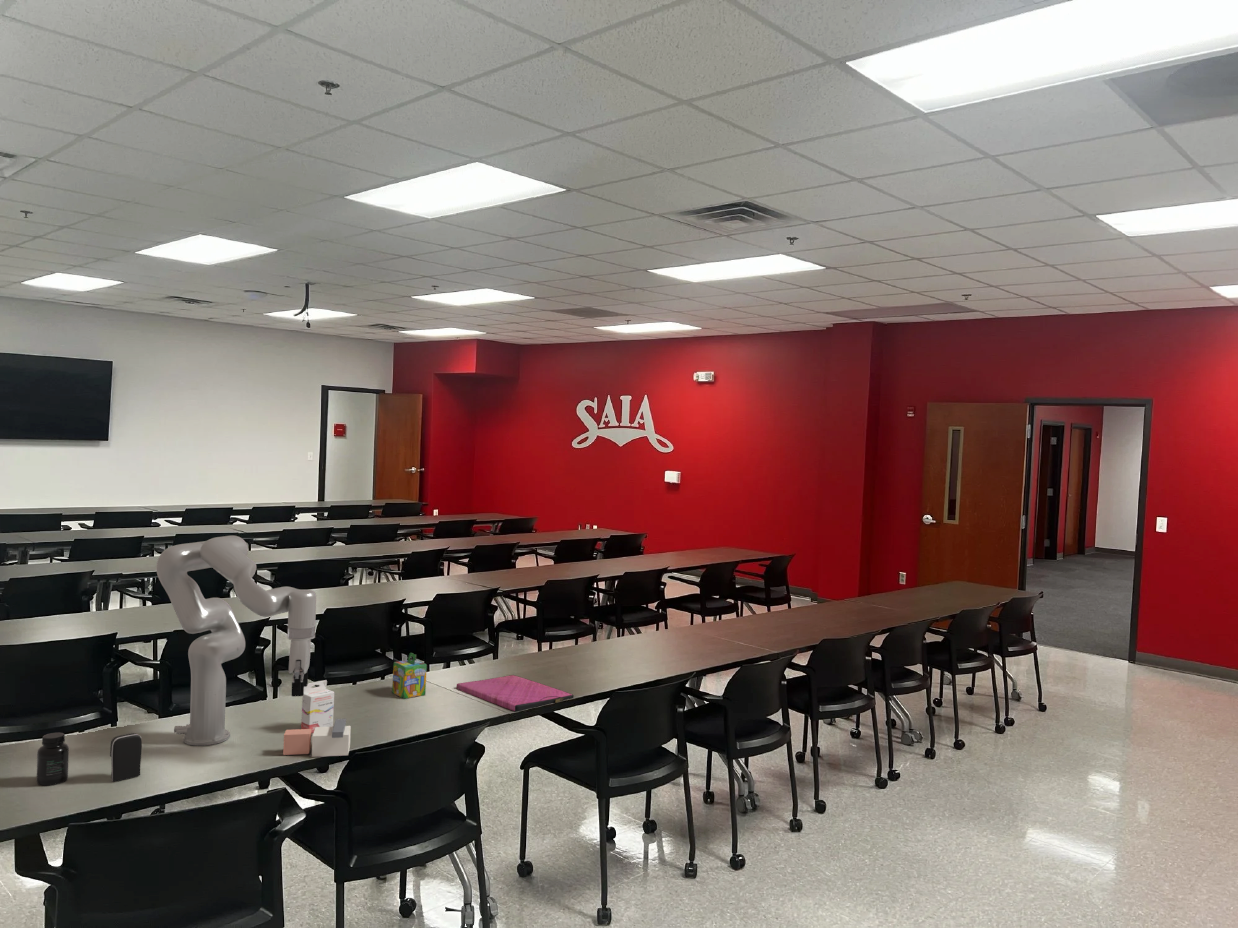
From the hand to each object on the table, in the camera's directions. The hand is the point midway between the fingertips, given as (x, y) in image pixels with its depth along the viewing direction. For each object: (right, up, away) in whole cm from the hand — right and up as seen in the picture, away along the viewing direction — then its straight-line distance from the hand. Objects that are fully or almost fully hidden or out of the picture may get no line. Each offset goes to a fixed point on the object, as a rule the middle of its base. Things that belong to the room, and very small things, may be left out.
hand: (299, 691), depth 246 cm
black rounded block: (-38, -17, -22) cm, 47 cm away
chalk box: (+17, -18, +61) cm, 66 cm away
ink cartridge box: (-2, -18, +21) cm, 27 cm away
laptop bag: (+55, -20, +67) cm, 89 cm away
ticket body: (+8, -18, +3) cm, 20 cm away
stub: (-1, -18, 0) cm, 18 cm away
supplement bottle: (-55, -17, -26) cm, 63 cm away
